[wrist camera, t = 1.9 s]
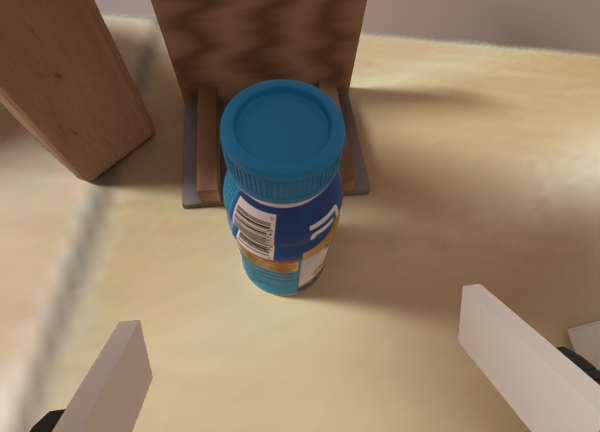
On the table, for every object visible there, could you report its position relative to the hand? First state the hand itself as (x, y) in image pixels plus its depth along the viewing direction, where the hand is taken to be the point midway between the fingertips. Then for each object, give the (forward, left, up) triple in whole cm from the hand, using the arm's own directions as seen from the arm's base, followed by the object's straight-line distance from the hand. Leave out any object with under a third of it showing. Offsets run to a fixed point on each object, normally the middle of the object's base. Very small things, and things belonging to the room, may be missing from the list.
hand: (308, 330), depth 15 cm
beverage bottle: (0, +10, -20) cm, 22 cm away
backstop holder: (0, +24, -19) cm, 31 cm away
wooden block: (-20, +27, -20) cm, 39 cm away
